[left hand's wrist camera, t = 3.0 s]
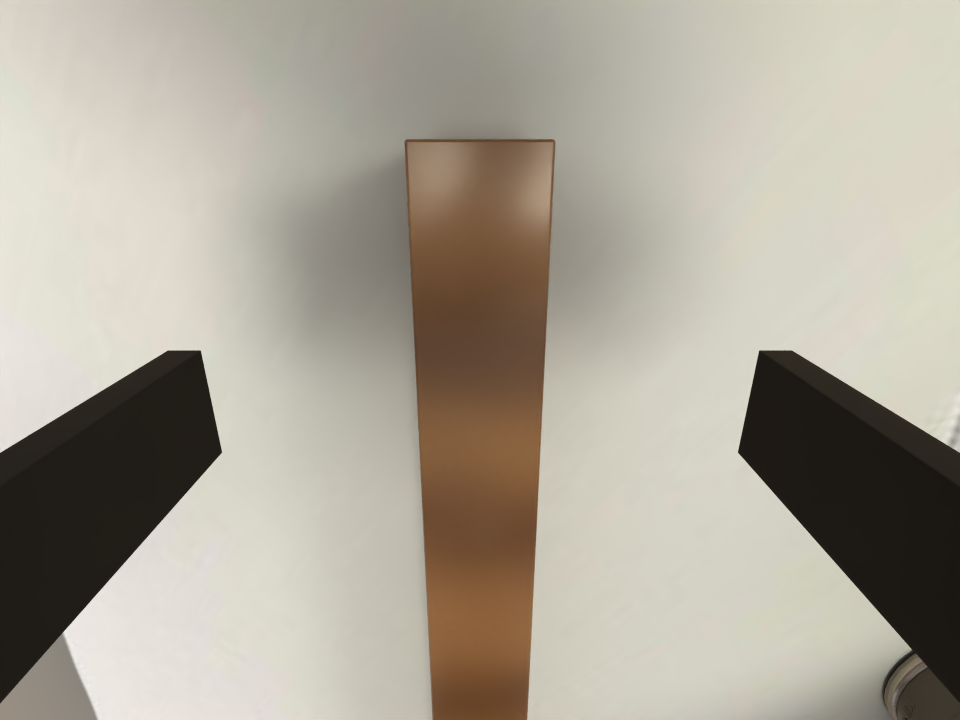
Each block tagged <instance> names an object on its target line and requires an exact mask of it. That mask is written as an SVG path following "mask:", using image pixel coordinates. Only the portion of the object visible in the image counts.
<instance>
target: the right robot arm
mask: <svg viewBox="0 0 960 720" xmlns="http://www.w3.org/2000/svg"><path fill="white" fill-rule="evenodd" d="M884 699H885V704H886V707H887V709H888V711H889V712H890V714H891V715H892V716H893V718H894V719H895V720H960V703H959V702H958V701H957V700H956V698H955V697H954V696H953V695H952V694H951V693H950V692H949V691H948V689H947V688H946V687H945V686H944V685H943V684H942V683H941V682H940V680H939V679H938V678H937V677H936V676H935V675H934V674H933V672H932V671H931V670H930V669H929V668H928V667H927V666H926V665H925V663H924V662H923V661H922V660H921V659H920V658H919V657H918V655H917V654H914V655H912V656H911V657H910V658H908V659H907V660H906V661H905V662H903V663H902V664H901V665H900V666H899V667H898V668H897V669H896V671H895V672H894V673H893V674H892V676H891V677H890V679H889V681H888V683H887V685H886V689H885V694H884Z"/></svg>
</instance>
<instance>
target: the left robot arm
mask: <svg viewBox="0 0 960 720" xmlns="http://www.w3.org/2000/svg"><path fill="white" fill-rule="evenodd" d="M221 453H222V450H221V445H220V441H219V436H218V431H217V426H216V421H215V417H214V412H213V407H212V402H211V398H210V393H209V388H208V383H207V378H206V374H205V369H204V364H203V359H202V355H201V351H167V352H165V353H163V354H162V355H160V356H158V357H157V358H155V359H154V360H152V361H150V362H149V363H147V364H145V365H144V366H142V367H140V368H139V369H137V370H135V371H134V372H132V373H131V374H129V375H127V376H126V377H124V378H122V379H121V380H119V381H117V382H116V383H114V384H113V385H111V386H109V387H108V388H106V389H104V390H103V391H101V392H99V393H98V394H96V395H94V396H93V397H91V398H90V399H88V400H86V401H85V402H83V403H81V404H80V405H78V406H76V407H75V408H73V409H72V410H70V411H68V412H67V413H65V414H63V415H62V416H60V417H58V418H57V419H55V420H53V421H52V422H50V423H49V424H47V425H45V426H44V427H42V428H40V429H39V430H37V431H35V432H34V433H32V434H31V435H29V436H27V437H26V438H24V439H22V440H21V441H19V442H17V443H16V444H14V445H12V446H11V447H9V448H8V449H6V450H4V451H3V452H1V453H0V703H1V702H2V701H3V700H4V698H5V697H6V696H7V695H8V694H9V693H10V692H11V691H12V689H13V688H14V687H15V686H16V685H17V684H18V683H19V681H20V680H21V679H22V678H23V677H24V676H25V675H26V674H27V672H28V671H29V670H30V669H31V668H32V667H33V666H34V664H35V663H36V662H37V661H38V660H39V659H40V658H41V657H42V655H43V654H44V653H45V652H46V651H47V650H48V649H49V648H50V646H51V645H52V644H53V643H54V642H55V641H56V640H57V638H58V637H59V636H60V635H61V634H62V633H63V632H64V631H65V629H66V628H67V627H68V626H69V625H70V624H71V623H72V622H73V620H74V619H75V618H76V617H77V616H78V615H79V614H80V612H81V611H82V610H83V609H84V608H85V607H86V606H87V605H88V603H89V602H90V601H91V600H92V599H93V598H94V597H95V596H96V594H97V593H98V592H99V591H100V590H101V589H102V588H103V586H104V585H105V584H106V583H107V582H108V581H109V580H110V579H111V577H112V576H113V575H114V574H115V573H116V572H117V571H118V569H119V568H120V567H121V566H122V565H123V564H124V563H125V562H126V560H127V559H128V558H129V557H130V556H131V555H132V554H133V553H134V551H135V550H136V549H137V548H138V547H139V546H140V545H141V543H142V542H143V541H144V540H145V539H146V538H147V537H148V536H149V534H150V533H151V532H152V531H153V530H154V529H155V528H156V526H157V525H158V524H159V523H160V522H161V521H162V520H163V519H164V517H165V516H166V515H167V514H168V513H169V512H170V511H171V510H172V508H173V507H174V506H175V505H176V504H177V503H178V502H179V500H180V499H181V498H182V497H183V496H184V495H185V494H186V493H187V491H188V490H189V489H190V488H191V487H192V486H193V485H194V483H195V482H196V481H197V480H198V479H199V478H200V477H201V476H202V474H203V473H204V472H205V471H206V470H207V469H208V468H209V467H210V465H211V464H212V463H213V462H214V461H215V460H216V459H217V457H218V456H219V455H220V454H221ZM738 453H739V454H740V455H741V456H742V457H743V459H744V460H745V461H746V462H747V463H748V464H749V465H750V467H751V468H752V469H753V470H754V471H755V472H756V473H757V474H758V476H759V477H760V478H761V479H762V480H763V481H764V482H765V483H766V485H767V486H768V487H769V488H770V489H771V490H772V491H773V493H774V494H775V495H776V496H777V497H778V498H779V499H780V500H781V502H782V503H783V504H784V505H785V506H786V507H787V508H788V510H789V511H790V512H791V513H792V514H793V515H794V516H795V517H796V519H797V520H798V521H799V522H800V523H801V524H802V525H803V526H804V528H805V529H806V530H807V531H808V532H809V533H810V534H811V536H812V537H813V538H814V539H815V540H816V541H817V542H818V543H819V545H820V546H821V547H822V548H823V549H824V550H825V551H826V553H827V554H828V555H829V556H830V557H831V558H832V559H833V560H834V562H835V563H836V564H837V565H838V566H839V567H840V568H841V569H842V571H843V572H844V573H845V574H846V575H847V576H848V577H849V579H850V580H851V581H852V582H853V583H854V584H855V585H856V586H857V588H858V589H859V590H860V591H861V592H862V593H863V594H864V596H865V597H866V598H867V599H868V600H869V601H870V602H871V603H872V605H873V606H874V607H875V608H876V609H877V610H878V611H879V612H880V614H881V615H882V616H883V617H884V618H885V619H886V620H887V622H888V623H889V624H890V625H891V626H892V627H893V628H894V629H895V631H896V632H897V633H898V634H899V635H900V636H901V637H902V639H903V640H904V641H905V642H906V643H907V644H908V645H909V646H910V648H911V649H912V650H913V651H914V652H915V653H916V654H917V655H918V657H919V658H920V659H921V660H922V661H923V662H924V663H925V665H926V666H927V667H928V668H929V669H930V670H931V671H932V672H933V674H934V675H935V676H936V677H937V678H938V679H939V680H940V682H941V683H942V684H943V685H944V686H945V687H946V688H947V689H948V691H949V692H950V693H951V694H952V695H953V696H954V697H955V698H956V700H957V701H958V702H959V703H960V453H959V452H957V451H956V450H954V449H952V448H951V447H949V446H948V445H946V444H944V443H943V442H941V441H939V440H938V439H936V438H934V437H933V436H931V435H929V434H928V433H926V432H925V431H923V430H921V429H920V428H918V427H916V426H915V425H913V424H911V423H910V422H908V421H907V420H905V419H903V418H902V417H900V416H898V415H897V414H895V413H893V412H892V411H890V410H888V409H887V408H885V407H884V406H882V405H880V404H879V403H877V402H875V401H874V400H872V399H870V398H869V397H867V396H866V395H864V394H862V393H861V392H859V391H857V390H856V389H854V388H852V387H851V386H849V385H847V384H846V383H844V382H843V381H841V380H839V379H838V378H836V377H834V376H833V375H831V374H829V373H828V372H826V371H825V370H823V369H821V368H820V367H818V366H816V365H815V364H813V363H811V362H810V361H808V360H806V359H805V358H803V357H802V356H800V355H798V354H797V353H795V352H793V351H759V355H758V359H757V364H756V369H755V374H754V378H753V383H752V388H751V393H750V398H749V402H748V407H747V412H746V417H745V421H744V426H743V431H742V436H741V441H740V445H739V450H738Z"/></svg>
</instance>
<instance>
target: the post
mask: <svg viewBox="0 0 960 720" xmlns="http://www.w3.org/2000/svg"><path fill="white" fill-rule="evenodd" d="M554 159H555V140H553V139H407V140H405V160H406V181H407V201H408V222H409V242H410V263H411V283H412V304H413V324H414V345H415V365H416V386H417V406H418V427H419V447H420V468H421V488H422V509H423V529H424V550H425V570H426V591H427V611H428V632H429V652H430V673H431V693H432V714H433V720H527V712H528V692H529V671H530V651H531V630H532V610H533V589H534V569H535V548H536V528H537V507H538V487H539V466H540V446H541V425H542V405H543V384H544V364H545V343H546V323H547V302H548V282H549V261H550V241H551V221H552V200H553V180H554Z"/></svg>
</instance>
